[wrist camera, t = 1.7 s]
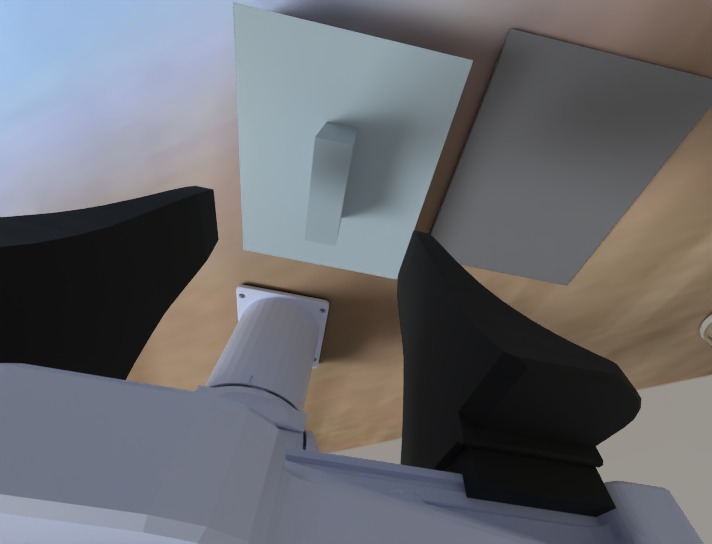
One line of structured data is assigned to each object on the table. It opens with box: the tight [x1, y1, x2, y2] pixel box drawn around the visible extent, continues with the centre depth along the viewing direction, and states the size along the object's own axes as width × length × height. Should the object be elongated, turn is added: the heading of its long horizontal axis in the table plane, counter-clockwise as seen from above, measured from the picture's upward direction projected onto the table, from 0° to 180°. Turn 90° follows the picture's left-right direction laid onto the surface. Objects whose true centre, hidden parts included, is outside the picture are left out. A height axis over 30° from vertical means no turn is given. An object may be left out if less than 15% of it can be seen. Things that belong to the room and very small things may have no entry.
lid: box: [233, 2, 473, 279], centre depth 15 cm, size 12×10×4 cm
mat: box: [430, 29, 712, 285], centre depth 19 cm, size 14×12×1 cm
